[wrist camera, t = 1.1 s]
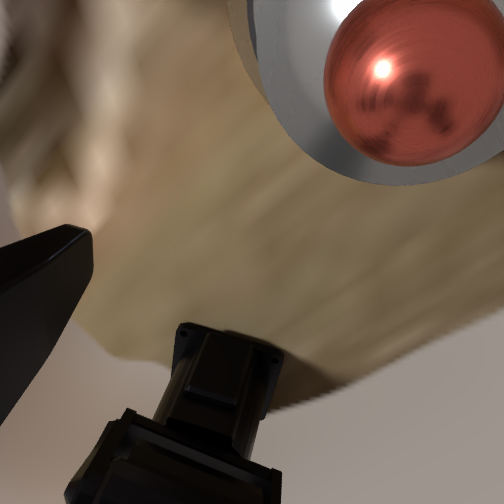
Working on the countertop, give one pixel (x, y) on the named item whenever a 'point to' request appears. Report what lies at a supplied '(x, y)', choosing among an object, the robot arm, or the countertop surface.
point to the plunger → (387, 83)
